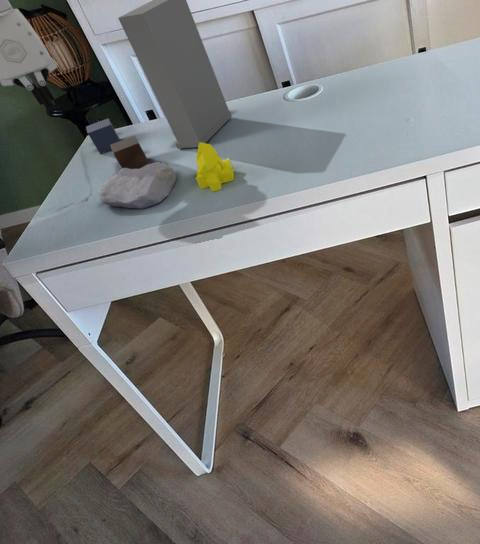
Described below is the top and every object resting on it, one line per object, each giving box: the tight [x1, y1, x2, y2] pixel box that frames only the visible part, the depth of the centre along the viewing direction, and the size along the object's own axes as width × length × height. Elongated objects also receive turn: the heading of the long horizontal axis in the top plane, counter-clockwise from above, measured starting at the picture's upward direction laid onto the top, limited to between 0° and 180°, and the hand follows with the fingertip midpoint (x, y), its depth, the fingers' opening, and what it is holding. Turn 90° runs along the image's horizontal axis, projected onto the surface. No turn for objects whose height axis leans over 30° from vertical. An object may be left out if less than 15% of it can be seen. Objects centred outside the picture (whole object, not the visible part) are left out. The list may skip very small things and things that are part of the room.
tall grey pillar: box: [117, 0, 233, 150], centre depth 96 cm, size 14×6×25 cm, turn 165°
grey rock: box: [98, 161, 178, 210], centre depth 86 cm, size 12×5×10 cm
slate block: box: [85, 117, 122, 155], centre depth 107 cm, size 5×5×5 cm
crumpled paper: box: [195, 142, 235, 193], centre depth 84 cm, size 6×8×8 cm
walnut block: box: [110, 135, 151, 169], centre depth 96 cm, size 5×5×5 cm
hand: (50, 105), depth 100 cm, fingers closed
